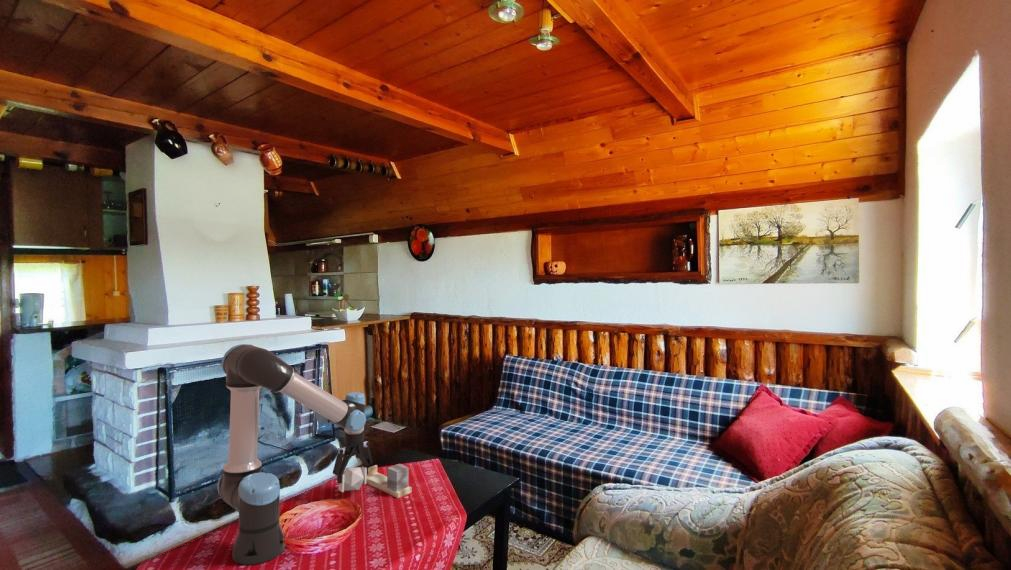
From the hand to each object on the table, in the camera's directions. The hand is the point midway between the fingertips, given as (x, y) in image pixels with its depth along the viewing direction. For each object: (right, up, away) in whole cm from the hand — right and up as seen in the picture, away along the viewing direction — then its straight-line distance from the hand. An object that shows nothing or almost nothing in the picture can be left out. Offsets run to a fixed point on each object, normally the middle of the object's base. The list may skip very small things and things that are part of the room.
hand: (352, 486), depth 199 cm
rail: (+12, -3, +8) cm, 15 cm away
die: (0, -1, 0) cm, 1 cm away
